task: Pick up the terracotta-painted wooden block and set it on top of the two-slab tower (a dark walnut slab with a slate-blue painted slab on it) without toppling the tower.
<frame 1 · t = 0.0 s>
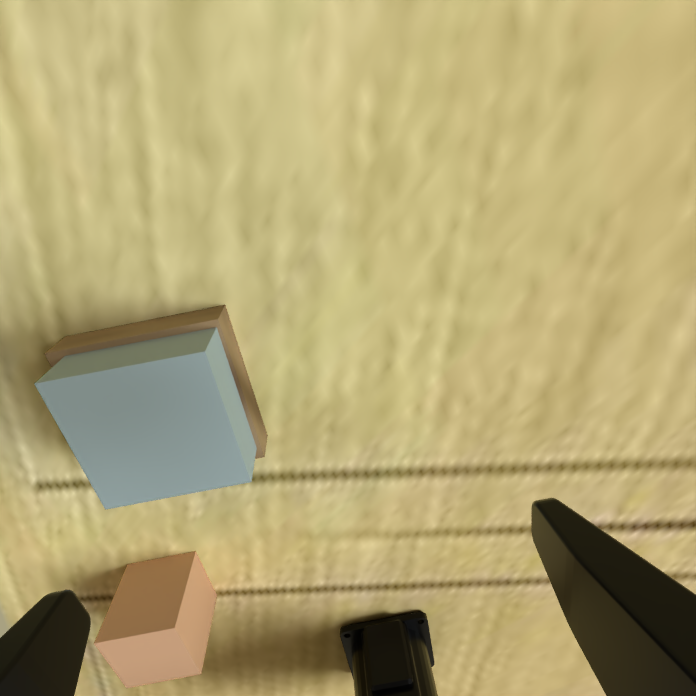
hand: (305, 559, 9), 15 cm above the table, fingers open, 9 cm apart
clay block: (174, 579, 30), on the table
walnut slab: (176, 383, 24), on the table, touching blue slab
blue slab: (167, 405, 22), point 2 cm above the table, touching walnut slab
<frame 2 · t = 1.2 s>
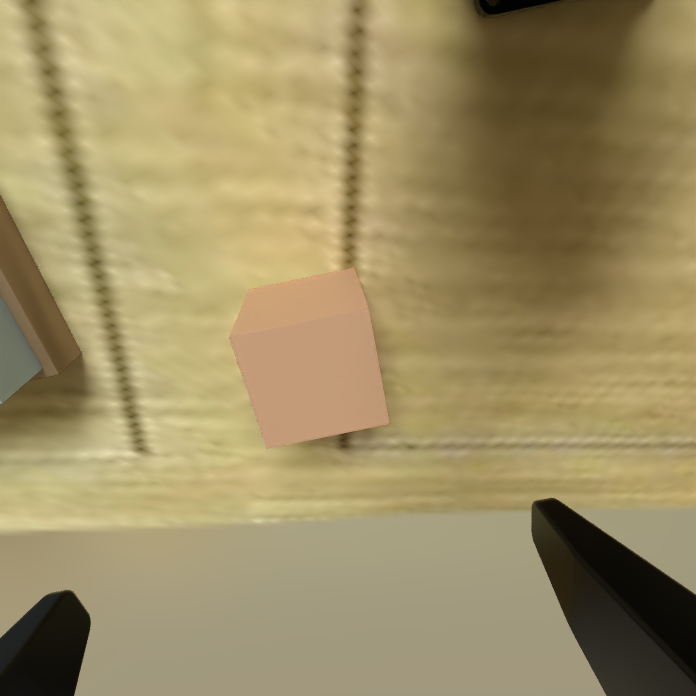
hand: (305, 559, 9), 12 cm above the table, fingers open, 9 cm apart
clay block: (313, 326, 19), on the table
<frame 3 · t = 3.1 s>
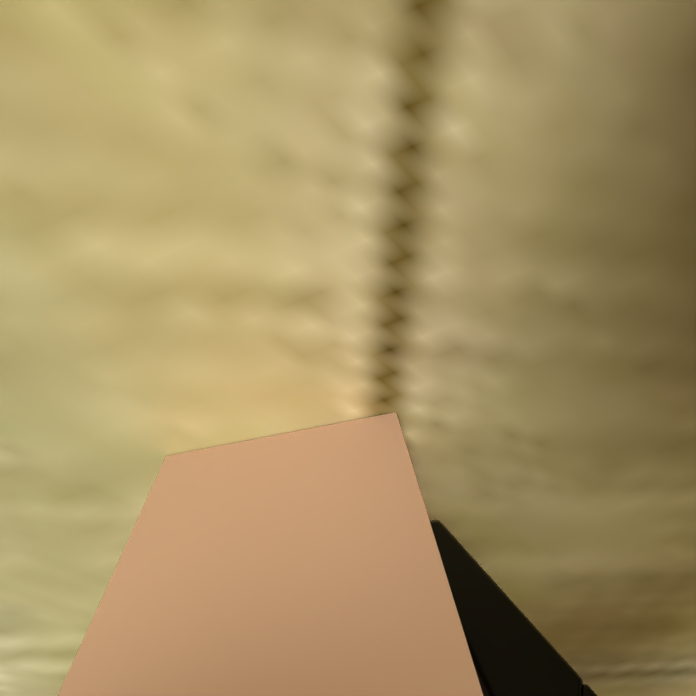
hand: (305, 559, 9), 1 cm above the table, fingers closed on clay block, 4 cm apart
clay block: (306, 517, 9), on the table, touching gripper
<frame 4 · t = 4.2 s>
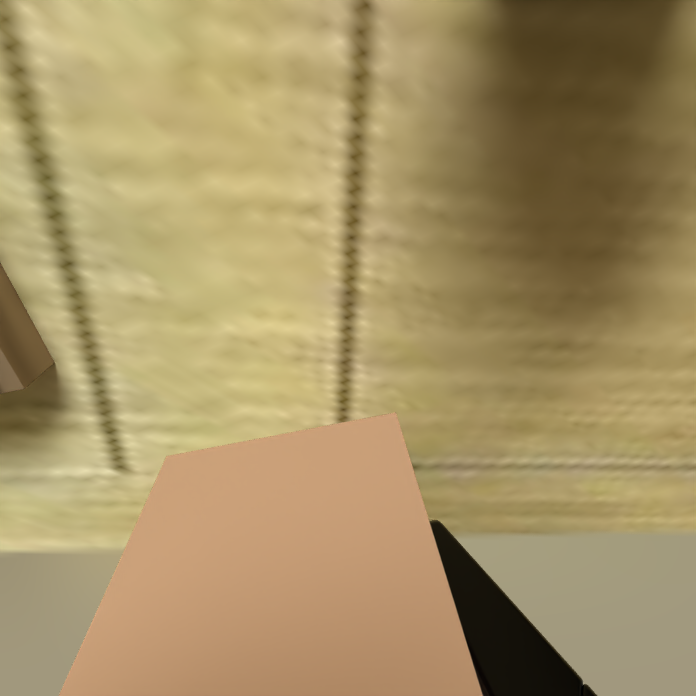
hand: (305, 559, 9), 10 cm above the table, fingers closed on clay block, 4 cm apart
clay block: (306, 517, 9), point 9 cm above the table, touching gripper
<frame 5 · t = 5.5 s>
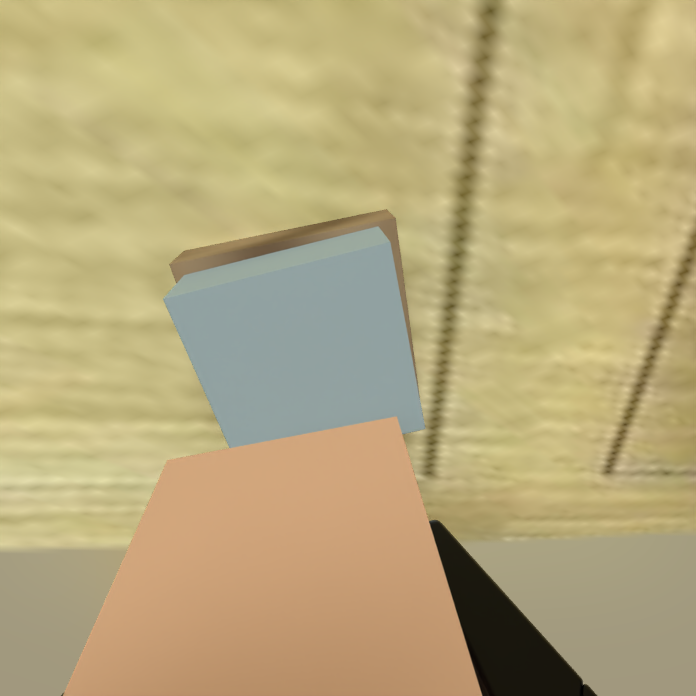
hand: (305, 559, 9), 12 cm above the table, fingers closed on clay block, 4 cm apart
clay block: (306, 521, 9), point 10 cm above the table, touching gripper
walnut slab: (308, 319, 19), on the table, touching blue slab
blue slab: (307, 338, 17), point 2 cm above the table, touching walnut slab
when the fingers open (7 cm above the table, at t = 6.8 s): clay block drops 2 cm, point 4 cm above the table.
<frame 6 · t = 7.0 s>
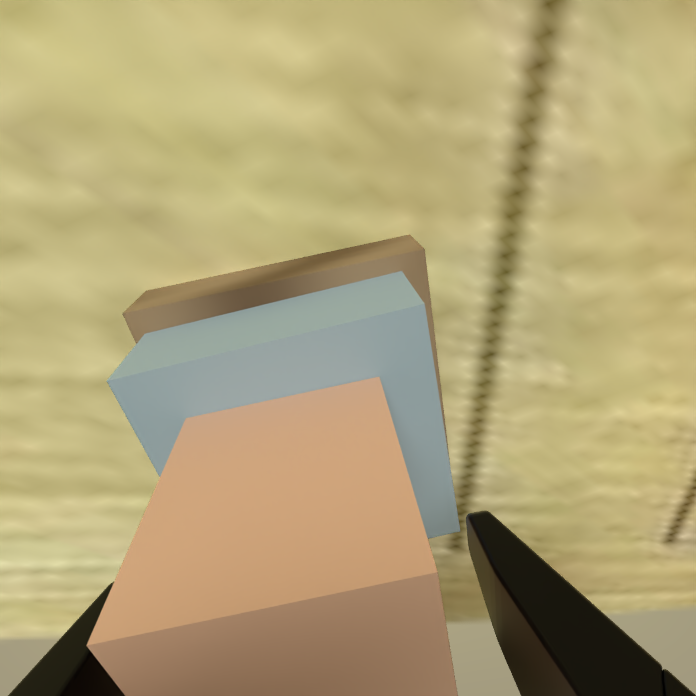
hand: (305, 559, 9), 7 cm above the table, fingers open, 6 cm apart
clay block: (305, 472, 11), point 4 cm above the table
walnut slab: (308, 368, 15), on the table, touching blue slab
blue slab: (307, 409, 13), point 2 cm above the table, touching walnut slab
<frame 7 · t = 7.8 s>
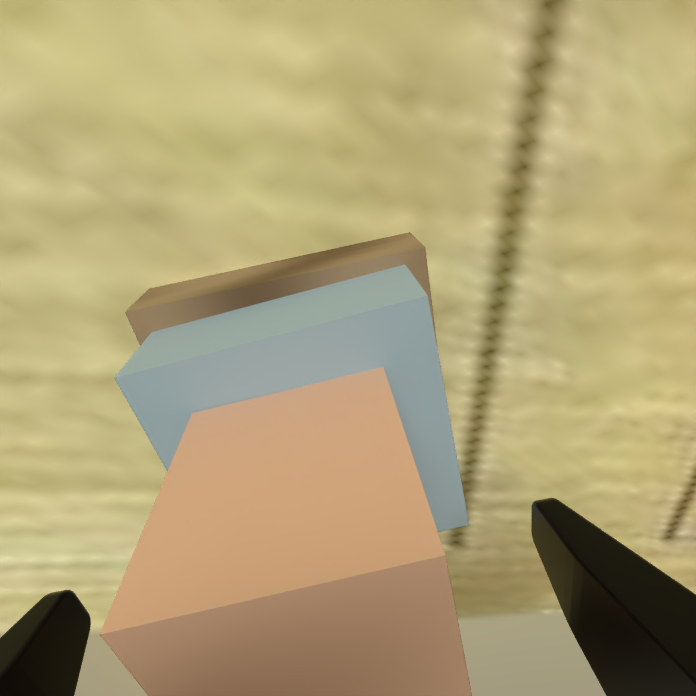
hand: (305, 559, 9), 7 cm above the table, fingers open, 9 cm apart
clay block: (312, 464, 11), point 4 cm above the table, touching blue slab
walnut slab: (309, 366, 15), on the table, touching blue slab
blue slab: (313, 405, 13), point 2 cm above the table, touching clay block, walnut slab
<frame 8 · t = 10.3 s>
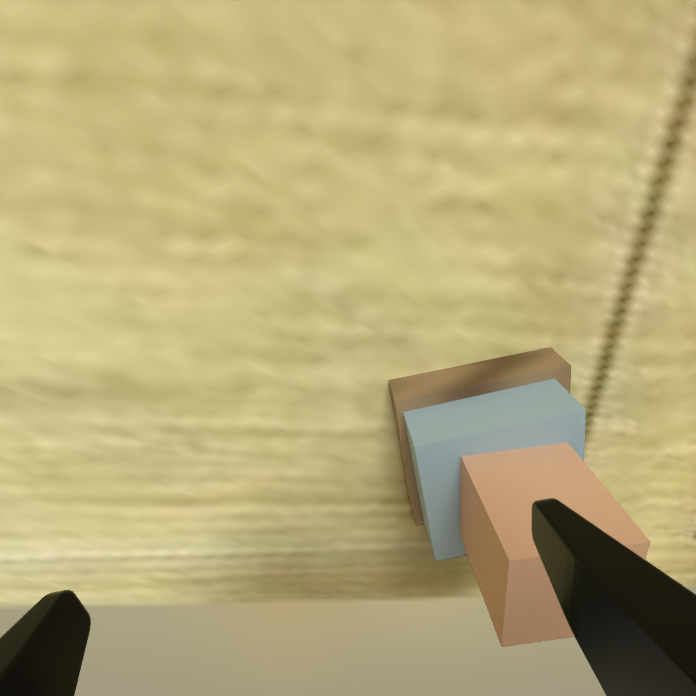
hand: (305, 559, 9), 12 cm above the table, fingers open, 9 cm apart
clay block: (510, 490, 19), point 4 cm above the table, touching blue slab
walnut slab: (470, 422, 24), on the table
blue slab: (484, 454, 22), point 2 cm above the table, touching clay block
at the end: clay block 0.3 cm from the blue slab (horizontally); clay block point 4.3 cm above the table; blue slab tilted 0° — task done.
